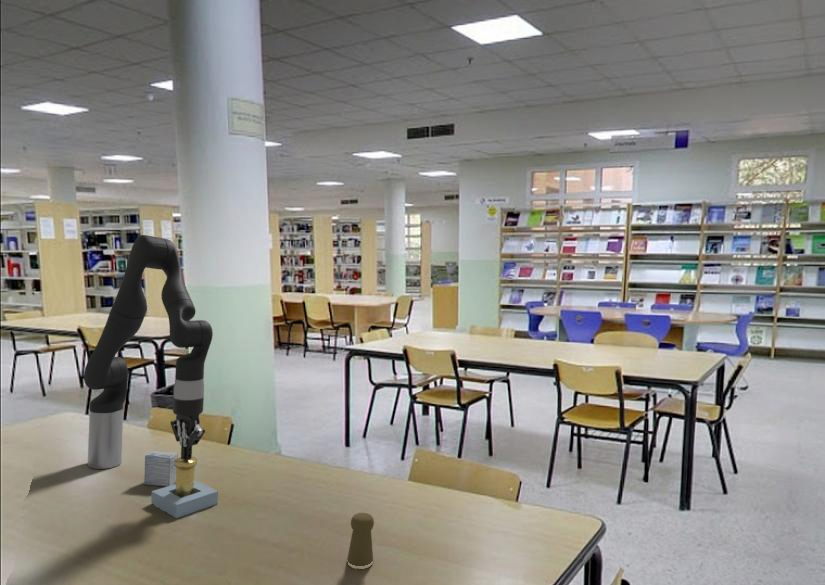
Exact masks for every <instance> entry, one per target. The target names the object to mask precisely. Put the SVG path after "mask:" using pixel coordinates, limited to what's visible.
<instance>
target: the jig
mask: <svg viewBox="0 0 825 585" xmlns="http://www.w3.org/2000/svg"><path fill="white" fill-rule="evenodd" d="M175 487H176V483H174V484H173V485H171V486H163V487H162V488H158V489H154V490H152V491H151V497H150V498H151V501H150V504H151V503H152V504H154V505H155V506H157V507H159V508H160V509H159V508H158V509H159V510H161V509H162V510H161V511H162V512H164V511H165V512H164V513H166V512H167V513H166V514H168V515H169V516H172V517H174V519H175V518H176V519H179V518H181V517H185V516H186V515H187V516H188V515H190V514H192V513H196V512H198V511H201V510H204V509H207V508H210V507H213V506H215V505H218V500H219V491H218V490H217V489H214V488H212V487H211V486H208V485H206V484H204V483H202V482H199V480H195V479H194V494H192V495H188V496H185V497H182V498H180V497H179V496H177V495H175ZM152 504H151V505H152ZM154 505H153V506H154ZM155 506H154V507H155ZM157 507H156V508H157Z"/></svg>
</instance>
